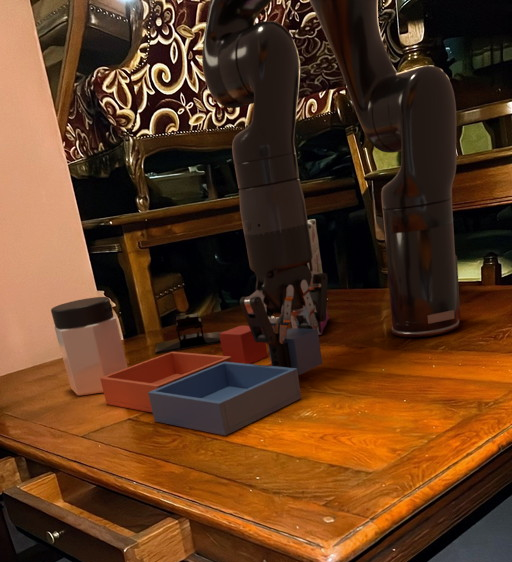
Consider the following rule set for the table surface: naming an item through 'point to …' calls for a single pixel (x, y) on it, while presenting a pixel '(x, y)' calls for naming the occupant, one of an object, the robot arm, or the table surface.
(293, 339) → the blue block
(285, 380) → the blue bin
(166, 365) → the terracotta bin
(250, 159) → the robot arm
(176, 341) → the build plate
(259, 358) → the red block
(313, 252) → the candy bar box
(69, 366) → the jar
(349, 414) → the table surface
